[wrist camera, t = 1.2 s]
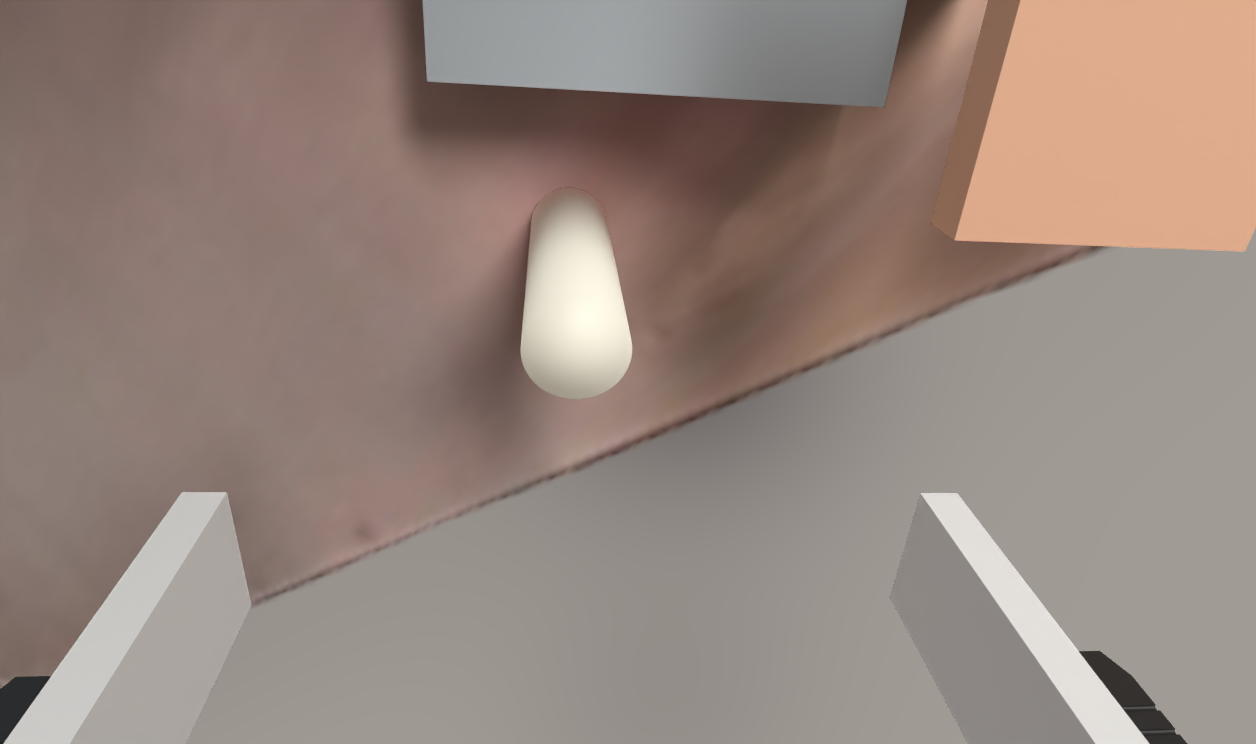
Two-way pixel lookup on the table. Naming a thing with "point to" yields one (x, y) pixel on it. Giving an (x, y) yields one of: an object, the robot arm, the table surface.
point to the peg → (573, 300)
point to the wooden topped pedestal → (1107, 126)
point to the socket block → (671, 47)
